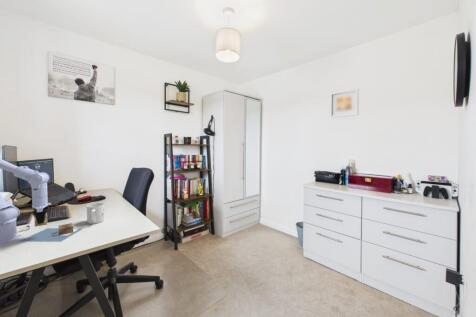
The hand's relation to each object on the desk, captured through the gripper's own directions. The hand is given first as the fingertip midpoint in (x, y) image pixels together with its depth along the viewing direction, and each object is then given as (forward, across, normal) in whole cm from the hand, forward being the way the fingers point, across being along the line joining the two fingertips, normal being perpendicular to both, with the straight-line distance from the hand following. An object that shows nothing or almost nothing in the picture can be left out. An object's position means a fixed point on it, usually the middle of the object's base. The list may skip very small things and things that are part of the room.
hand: (41, 221), depth 106 cm
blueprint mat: (+8, 0, -5) cm, 10 cm away
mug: (+9, +6, -24) cm, 26 cm away
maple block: (+1, 0, 0) cm, 1 cm away
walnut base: (+8, 0, -10) cm, 13 cm away
